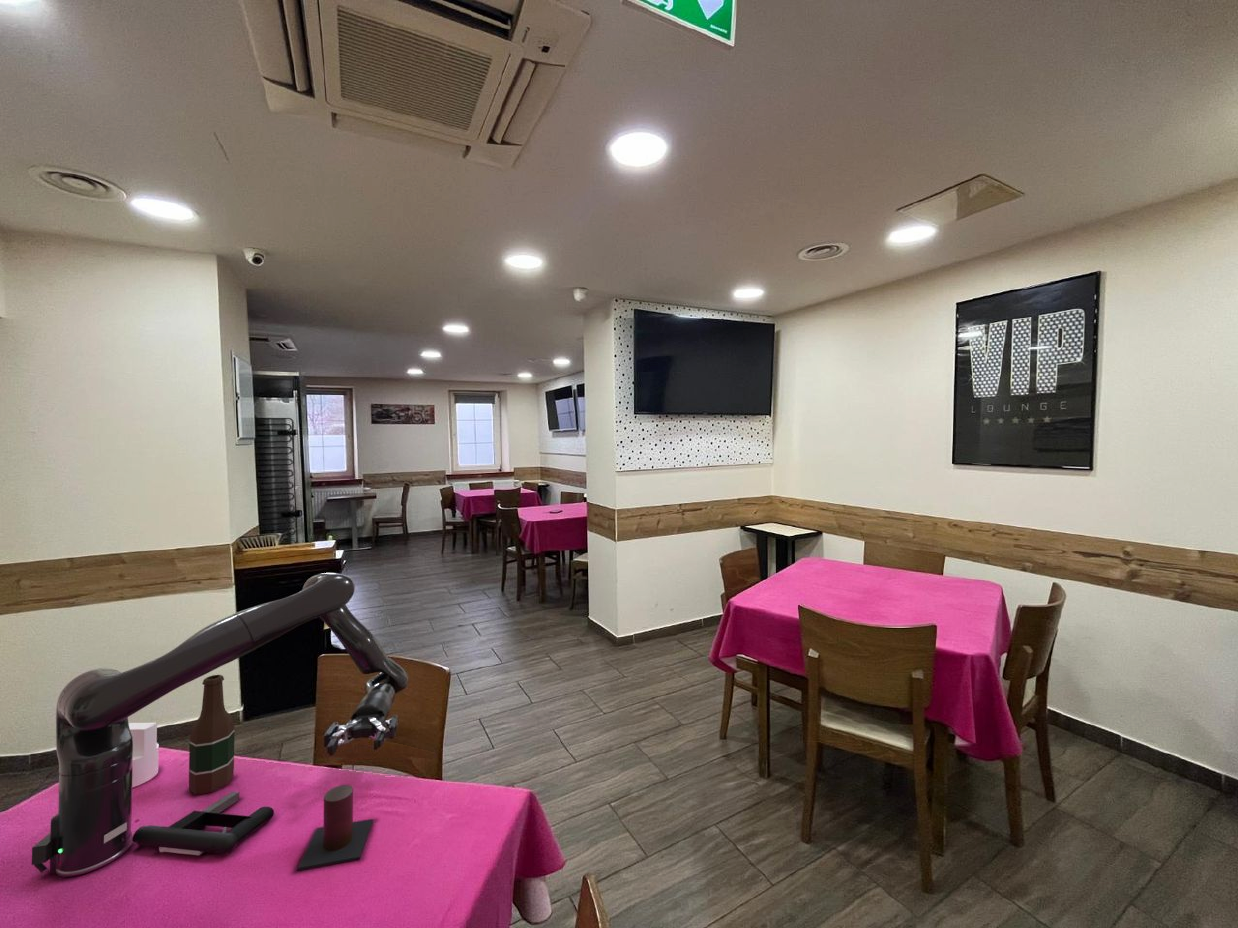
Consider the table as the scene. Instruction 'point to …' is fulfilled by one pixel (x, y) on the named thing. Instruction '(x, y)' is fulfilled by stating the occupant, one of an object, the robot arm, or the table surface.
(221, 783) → the beer bottle
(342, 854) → the black mat
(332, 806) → the dark brown cylinder
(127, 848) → the robot arm
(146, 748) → the base with upright slab
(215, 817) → the door handle
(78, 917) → the table surface
